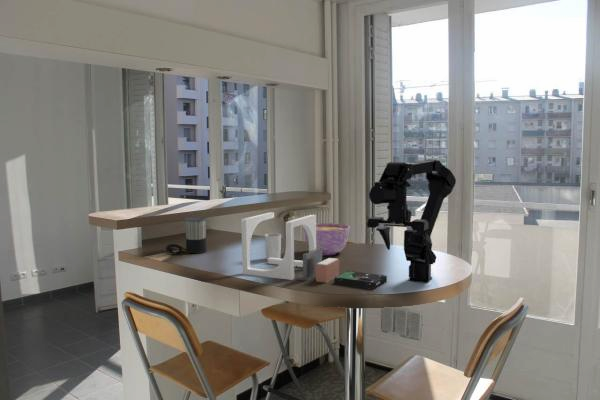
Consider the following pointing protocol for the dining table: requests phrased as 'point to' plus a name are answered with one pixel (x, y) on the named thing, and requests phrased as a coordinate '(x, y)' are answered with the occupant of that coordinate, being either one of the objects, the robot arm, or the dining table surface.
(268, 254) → the drinking glass
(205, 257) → the dining table surface
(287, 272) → the white arched frame
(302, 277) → the metal plate
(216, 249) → the dining table surface
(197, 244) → the milk frother
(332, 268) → the book
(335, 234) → the bowl of food
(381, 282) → the disk drive
